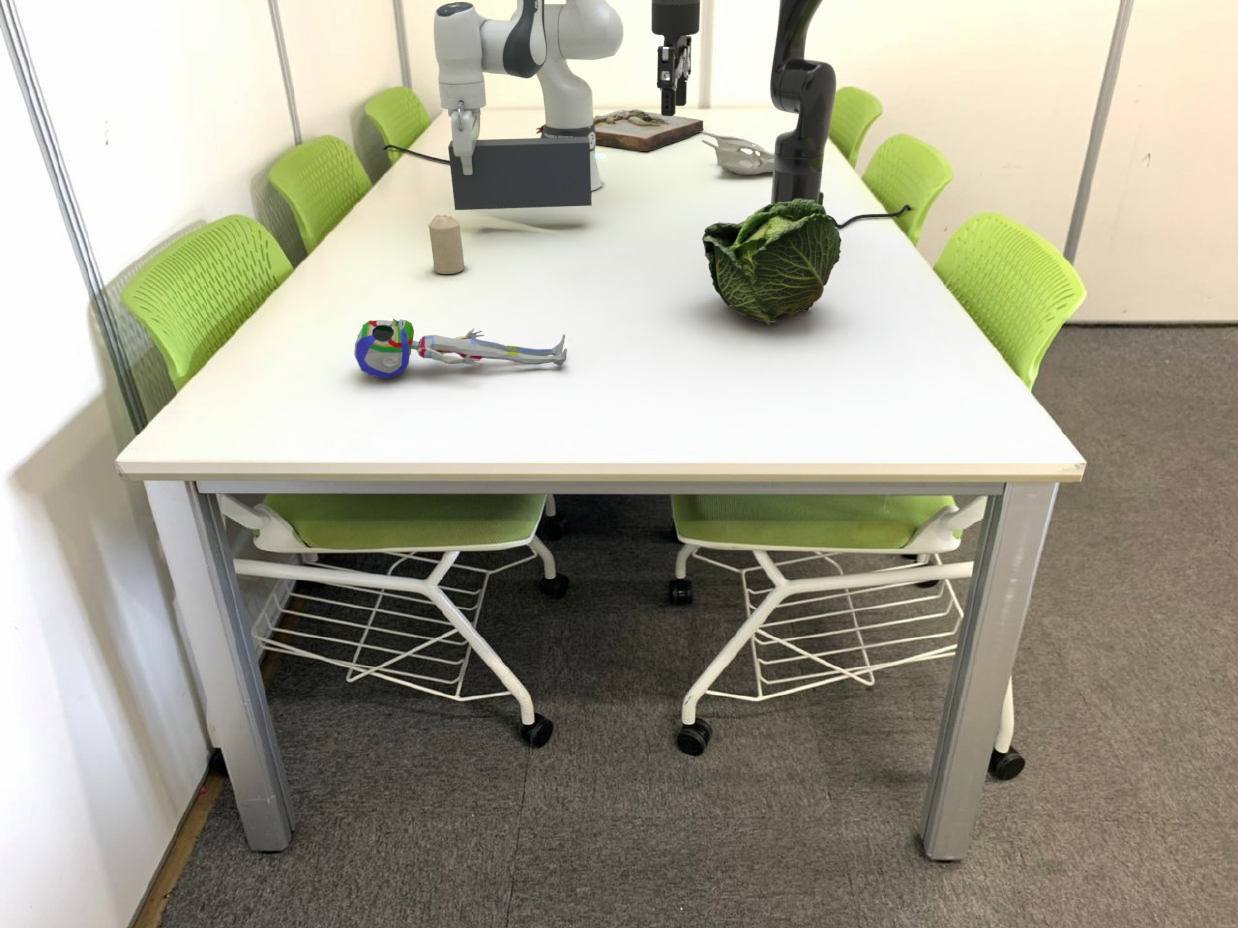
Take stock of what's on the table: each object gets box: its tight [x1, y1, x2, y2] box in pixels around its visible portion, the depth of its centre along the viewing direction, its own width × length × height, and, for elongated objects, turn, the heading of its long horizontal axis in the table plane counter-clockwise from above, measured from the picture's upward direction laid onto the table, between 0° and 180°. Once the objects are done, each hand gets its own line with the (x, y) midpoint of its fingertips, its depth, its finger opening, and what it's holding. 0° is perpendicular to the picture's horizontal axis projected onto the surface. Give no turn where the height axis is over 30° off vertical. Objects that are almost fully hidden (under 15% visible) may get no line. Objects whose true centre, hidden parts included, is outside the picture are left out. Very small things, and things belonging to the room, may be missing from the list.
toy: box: [353, 318, 568, 379], centre depth 130 cm, size 10×8×30 cm
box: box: [447, 137, 592, 211], centre depth 182 cm, size 28×6×12 cm, turn 94°
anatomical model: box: [701, 131, 774, 176], centre depth 221 cm, size 15×9×25 cm
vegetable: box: [701, 198, 843, 326], centre depth 143 cm, size 20×19×20 cm
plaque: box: [593, 108, 705, 152], centre depth 257 cm, size 30×7×30 cm
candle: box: [428, 214, 465, 275], centre depth 165 cm, size 6×6×10 cm
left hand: (469, 169), depth 181 cm, fingers closed on box, 6 cm apart
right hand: (674, 110), depth 147 cm, fingers open, 8 cm apart
